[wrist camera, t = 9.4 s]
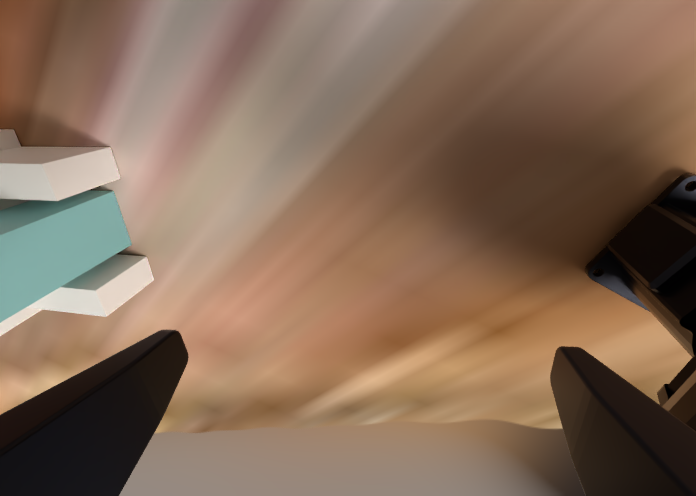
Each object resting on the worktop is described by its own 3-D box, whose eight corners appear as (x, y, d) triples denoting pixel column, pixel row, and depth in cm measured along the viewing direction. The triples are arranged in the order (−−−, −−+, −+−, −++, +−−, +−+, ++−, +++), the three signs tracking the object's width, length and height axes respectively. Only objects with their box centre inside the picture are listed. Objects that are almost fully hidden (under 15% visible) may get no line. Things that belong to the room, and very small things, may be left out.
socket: (104, 128, 21) (-24, 152, 15) (158, 292, 27) (79, 357, 21) (-23, 129, 23) (-182, 150, 17) (51, 281, 29) (-50, 339, 23)
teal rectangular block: (113, 191, 23) (-140, 289, 13) (131, 244, 25) (-77, 368, 15) (46, 188, 24) (-238, 277, 14) (68, 240, 26) (-169, 353, 16)
